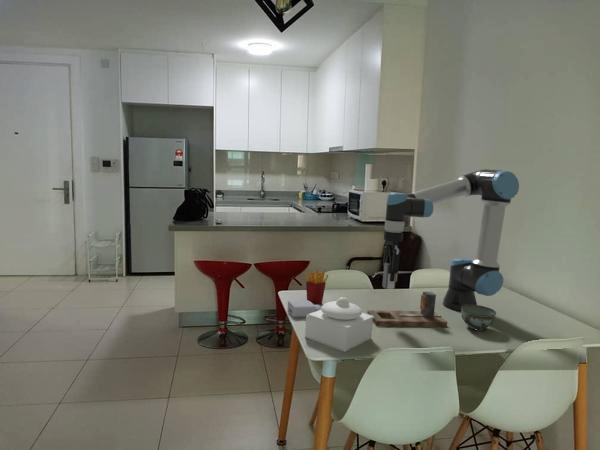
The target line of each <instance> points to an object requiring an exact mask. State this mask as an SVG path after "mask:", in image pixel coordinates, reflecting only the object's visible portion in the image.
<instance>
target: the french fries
mask: <svg viewBox="0 0 600 450" xmlns="http://www.w3.org/2000/svg"><path fill="white" fill-rule="evenodd" d="M328 278H329V274H326V276H325V271H323V270H322V271H318V270H315V271H312V270H311V271H310V272H306V279H307V280H306V281H305V288H306V289H305V291H306V300H308V301H310V302H311V303H313V304H314V305H321V304H323V300H324V299H323V298H324V293H325V288H326V282H327V280H328Z"/></svg>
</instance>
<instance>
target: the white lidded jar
mask: <svg viewBox="0 0 600 450" xmlns="http://www.w3.org/2000/svg"><path fill="white" fill-rule="evenodd" d="M373 318H374V316H372V315H369V314H367V313H365V312H362V308H361V307H359V306H358V305H357V304H354V303H352V302H350V300H349V299H348V298H347V297H344V296H341V297H339V298H337V300H334V301H329V302H325V303H324V304H322V305H321V310H319V311H316V312H313V313H310V314H308V316H306V317H305V328H304V329H305V331H304V338H306V339H309V340H311V341H314V342H317V343H319V344H321V345H324V344H325V346H327V345H328V346H327V347H330V348H332V347H333V349H335V348H336V350H339V351H341V352H343V351H344V353H345V352H348V351H349V349H350V350H352V349H354V348H355V346H356V347H358V346H360V345H362V344H364V343H365V341H366V342H367V340H368V341H369V339H370V340H372V333H373V331H372V330H373ZM363 342H364V343H363ZM361 343H362V344H361ZM359 344H360V345H359ZM357 345H358V346H357ZM353 347H354V348H353ZM351 348H352V349H351Z"/></svg>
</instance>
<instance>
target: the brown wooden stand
mask: <svg viewBox="0 0 600 450" xmlns="http://www.w3.org/2000/svg"><path fill="white" fill-rule="evenodd" d="M436 298H437V295H436V294H435V293H434V292H433V291H423V292H422V294H421V295H420V305H419V309H420V310H373V309H372V310H369V309H368V310H367V311H366V312H367V313H366V314H369V315H372V316H374V318H373V321H372V323H373V324H374V325H375V326H376V327H448V321H447V320H446V319H445V318H443V317H442V314H438V313H437V312H436V311H435V308H436Z"/></svg>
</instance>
